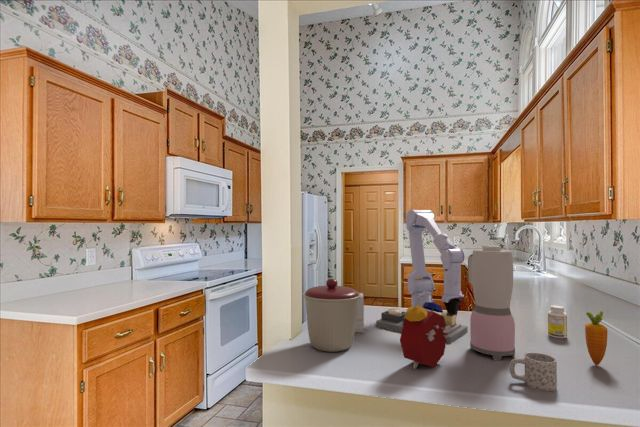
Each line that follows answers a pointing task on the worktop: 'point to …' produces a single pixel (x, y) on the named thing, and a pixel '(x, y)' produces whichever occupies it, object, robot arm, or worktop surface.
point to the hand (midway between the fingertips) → (452, 319)
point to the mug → (537, 371)
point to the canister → (331, 316)
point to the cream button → (395, 311)
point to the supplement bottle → (557, 322)
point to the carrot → (596, 337)
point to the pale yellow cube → (449, 319)
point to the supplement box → (360, 315)
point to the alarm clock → (424, 333)
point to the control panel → (398, 320)
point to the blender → (492, 301)
